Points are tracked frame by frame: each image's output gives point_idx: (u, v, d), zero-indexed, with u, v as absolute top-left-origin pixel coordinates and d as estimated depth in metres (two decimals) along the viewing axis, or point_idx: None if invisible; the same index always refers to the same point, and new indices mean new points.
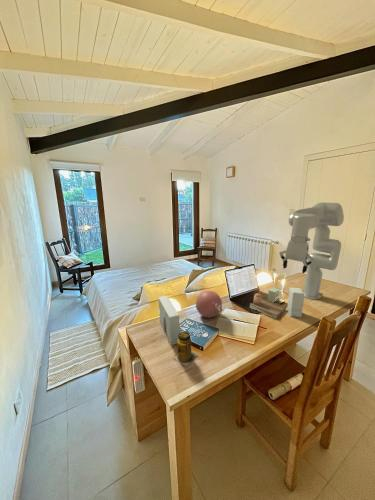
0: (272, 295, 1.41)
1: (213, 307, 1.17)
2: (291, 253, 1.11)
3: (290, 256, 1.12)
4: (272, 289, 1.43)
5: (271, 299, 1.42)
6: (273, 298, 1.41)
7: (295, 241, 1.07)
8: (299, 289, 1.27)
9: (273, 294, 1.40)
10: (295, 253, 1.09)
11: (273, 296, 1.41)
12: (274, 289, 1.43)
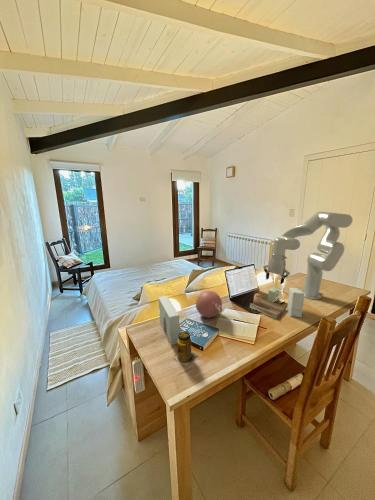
0: (272, 295, 1.41)
1: (213, 307, 1.17)
2: (272, 267, 1.38)
3: (271, 270, 1.39)
4: (272, 289, 1.43)
5: (271, 299, 1.42)
6: (273, 298, 1.41)
7: (275, 258, 1.35)
8: (299, 289, 1.27)
9: (273, 294, 1.40)
10: (275, 268, 1.37)
11: (273, 296, 1.41)
12: (274, 289, 1.43)
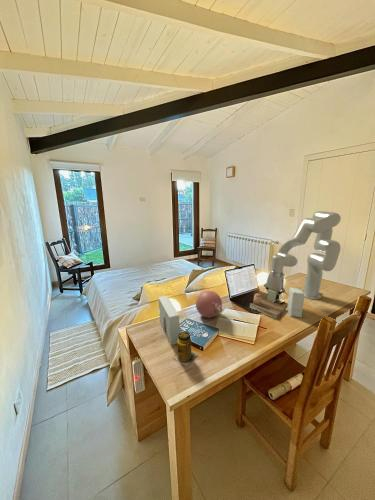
0: (272, 295, 1.41)
1: (213, 307, 1.17)
2: (270, 284, 1.41)
3: (269, 286, 1.42)
4: (272, 289, 1.44)
5: (271, 299, 1.42)
6: (273, 298, 1.41)
7: (273, 275, 1.38)
8: (299, 289, 1.27)
9: (273, 294, 1.40)
10: (273, 284, 1.40)
11: (273, 296, 1.41)
12: None
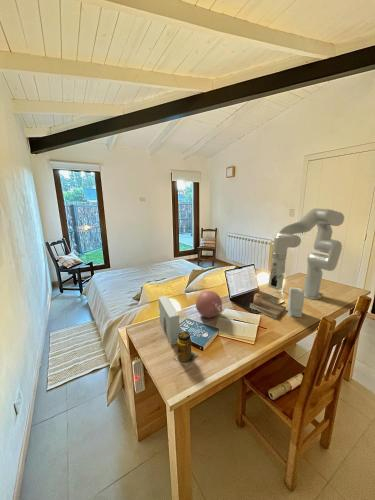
0: None
1: (213, 307, 1.17)
2: None
3: None
4: None
5: None
6: None
7: None
8: (299, 289, 1.27)
9: None
10: None
11: None
12: None
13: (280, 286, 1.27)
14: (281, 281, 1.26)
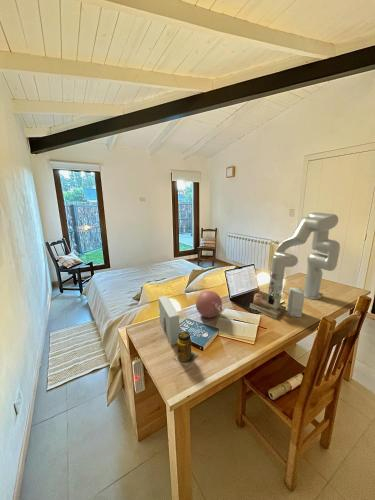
0: None
1: (213, 307, 1.17)
2: None
3: None
4: None
5: None
6: None
7: None
8: (299, 289, 1.27)
9: None
10: None
11: None
12: (275, 295, 1.31)
13: (277, 306, 1.30)
14: (278, 301, 1.30)
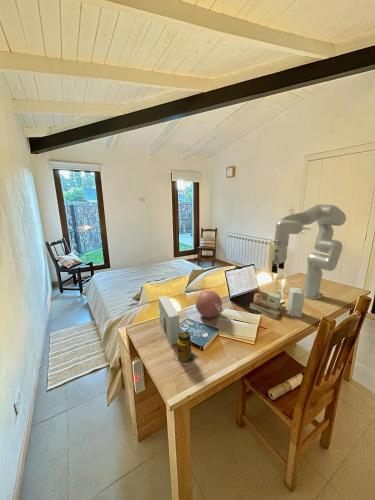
0: None
1: (213, 307, 1.17)
2: None
3: None
4: (274, 294, 1.32)
5: None
6: None
7: None
8: (299, 289, 1.27)
9: None
10: None
11: None
12: (275, 295, 1.31)
13: (277, 306, 1.30)
14: (278, 301, 1.30)
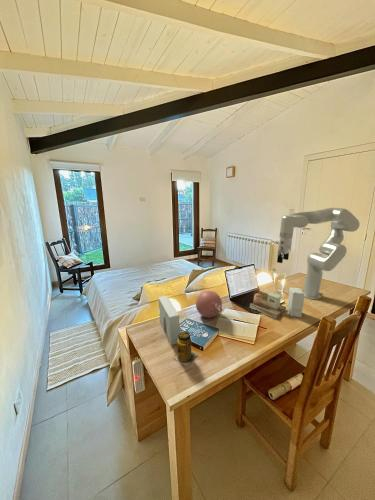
0: None
1: (213, 307, 1.17)
2: None
3: None
4: (274, 294, 1.32)
5: None
6: None
7: None
8: (299, 289, 1.27)
9: None
10: None
11: None
12: (275, 295, 1.31)
13: (277, 306, 1.30)
14: (278, 301, 1.30)
